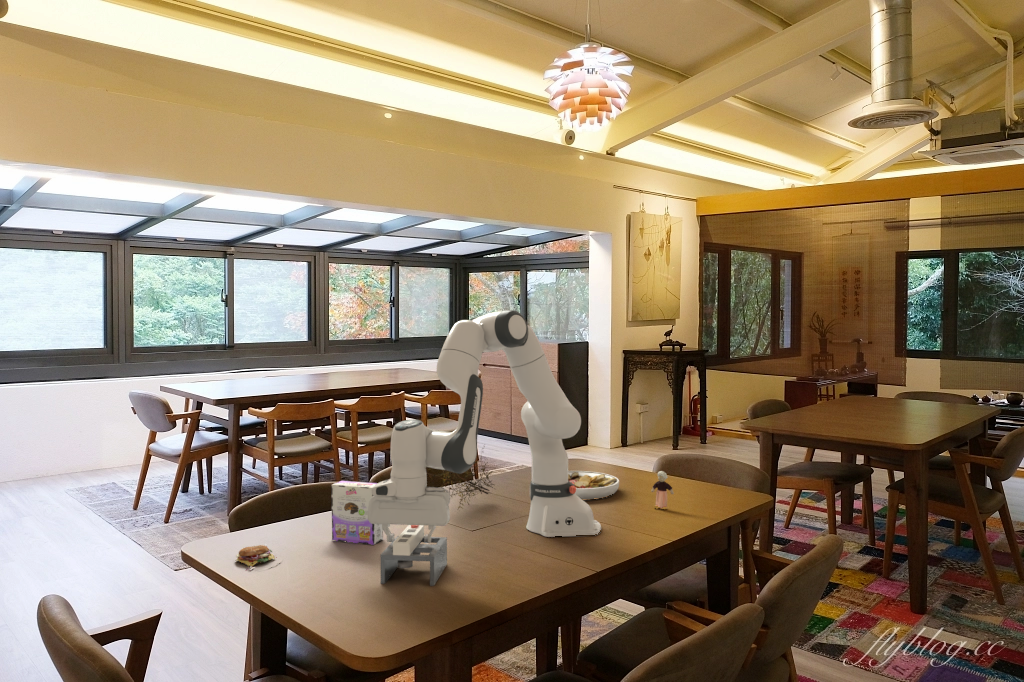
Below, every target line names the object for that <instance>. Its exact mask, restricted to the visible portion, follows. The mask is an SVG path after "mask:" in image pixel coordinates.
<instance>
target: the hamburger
mask: <svg viewBox="0 0 1024 682" xmlns="http://www.w3.org/2000/svg"><path fill="white" fill-rule="evenodd" d="M272 553H273V550H272V549H270V548H268V546H267V545H264V544H259V545H253V546H252V545H251V546H246V547H243V548H241V549H240V550H239V551H238V553H237V554H236V560H235V561H236V562H238V561H239V563H240V562H241V563H240V564H242V563H244V564H243V565H246V566H247V568H246V570H249V568H250V567H249V566H252V567H253V566H255V565H257V564H256V563H259V564H261V563H260V562H262V563H265V562H267V561H271V560H272V559H273V560H275V559H276V557H275V556H274V554H272ZM263 561H264V562H263Z"/></svg>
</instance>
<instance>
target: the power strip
mask: <svg viewBox="0 0 1024 682" xmlns="http://www.w3.org/2000/svg"><path fill="white" fill-rule="evenodd" d="M397 536H398V538H397V539H396V540H395V541H394V542H393V555H405V556H410V554H411V553H412V552H413V550H414V549H415V548H416V547H417V545H418V544H419V543H420V541H421V540H422V539H423V538H424V536H425V525H406V528H405V529H403V531H402V532H401V533H400V534H399V535H397ZM420 544H421V543H420ZM413 554H416V555H422V553H415V552H413ZM413 563H414V561H404V560H398V568H399V569H409V568H412V567H413V565H414V564H413Z"/></svg>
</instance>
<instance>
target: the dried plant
mask: <svg viewBox="0 0 1024 682" xmlns="http://www.w3.org/2000/svg"><path fill="white" fill-rule="evenodd" d="M485 446H486V445H483V447H482V449H481V450H484V448H485ZM480 452H481V453H480V454H481V456H480V461H483V457H482V453H483V451H480ZM485 461H487V458H486V459H485ZM478 462H479V461H478V460H475V462H474V464H473V465H475V464H476V463H478ZM482 463H483V462H480V464H481V469H480V470H481V471H480V472H479V477H480V478H478V479H477V477H476V476H477V474H476V471H477V470H478V469H476V468H477V467H478V465H476V466H475V467H474V466H473V465H472V466H471V467H470V468H469V469H468V470H467V471H465V472H464V475H465V476H464V478H463V476H462V475H461V474H458V473H454V472H450V471H447V470H442V472H441V473H440V472H439V474H432V473H429V472H426V473H427V474H428V475H429V476H431V480H433V478H434V480H435V479H436V478H438V479H441V480H442V483H443V484H442V485H440V486H439V487H443V488H447V489H448V491H449V493H450V494H451V493H452V494H451V495H450V500H451V499H452V498H453V496H455V495H458V496H459V497H460V499H459V500H460V501H458V503H459V505H458V507H457V508H458V509H457V511H458V512H460V510H459V509H460V508H461V509H463V507H462V506H464V503H467V504H468V506H470V502H469V501H468V500H470V498H472V499H473V498H474V497H476V495H478V494H479V493H480V495H483V493H484V494H486V495H489V494H491V492H490V489H488V488H487V487H489V488H492V489H494V490H496V488H494V487H493V486H495V484H494V483H492V482H493V479H491V480H490V476H491V474H492V473H493V472H494V471H493V470H492V471H490V472H489V471H486V468H487V466H488V465H487V463H484V464H482ZM486 465H487V466H486ZM428 468H429V469H428ZM428 468H427V471H429V470H430V469H431V467H428ZM471 468H472V469H471ZM433 469H435V468H432V470H433ZM470 469H471V471H470ZM474 469H475V470H474ZM441 476H442V477H441ZM469 477H470V478H469ZM451 478H452V479H451ZM466 478H469V479H470V480H469V479H466ZM474 480H475V481H474ZM456 483H457V484H456ZM481 483H482V484H483V485H484V486H486V487H484V486H483V485H482V484H481ZM434 484H435V483H434V481H433V483H432V485H434ZM447 484H448V486H449V487H448V486H447ZM453 484H454V485H455V488H454V486H453ZM477 484H478V485H477ZM450 485H451V486H450ZM444 486H445V487H444ZM451 490H452V491H451ZM444 492H446V491H444ZM454 492H455V493H454ZM462 502H464V503H462ZM461 505H462V506H461Z"/></svg>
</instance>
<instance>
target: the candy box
mask: <svg viewBox="0 0 1024 682" xmlns="http://www.w3.org/2000/svg"><path fill="white" fill-rule="evenodd" d="M378 483H379V482H378ZM378 483H377V482H365V481H364V482H363V481H362V482H361V481H349V480H340V481H338V482H334V483H333V484H331V485H330V490H331V536H332V537H331V541H332V540H336V541H335V542H339V541H346V542H345V543H349V542H353V543H352V544H358V543H363V544H362V545H368V544H371V545H370V546H372V545H373V546H374V545H376V544H378V543H379V541H380V542H382V541H383V540H384V531H383V529H382V524H371V523H370V522H369V521H368V506H369V501H370V499H371V497H372V496H374V495H372V488H373V487H374V486H375V485H376V484H378ZM381 540H382V541H381Z"/></svg>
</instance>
